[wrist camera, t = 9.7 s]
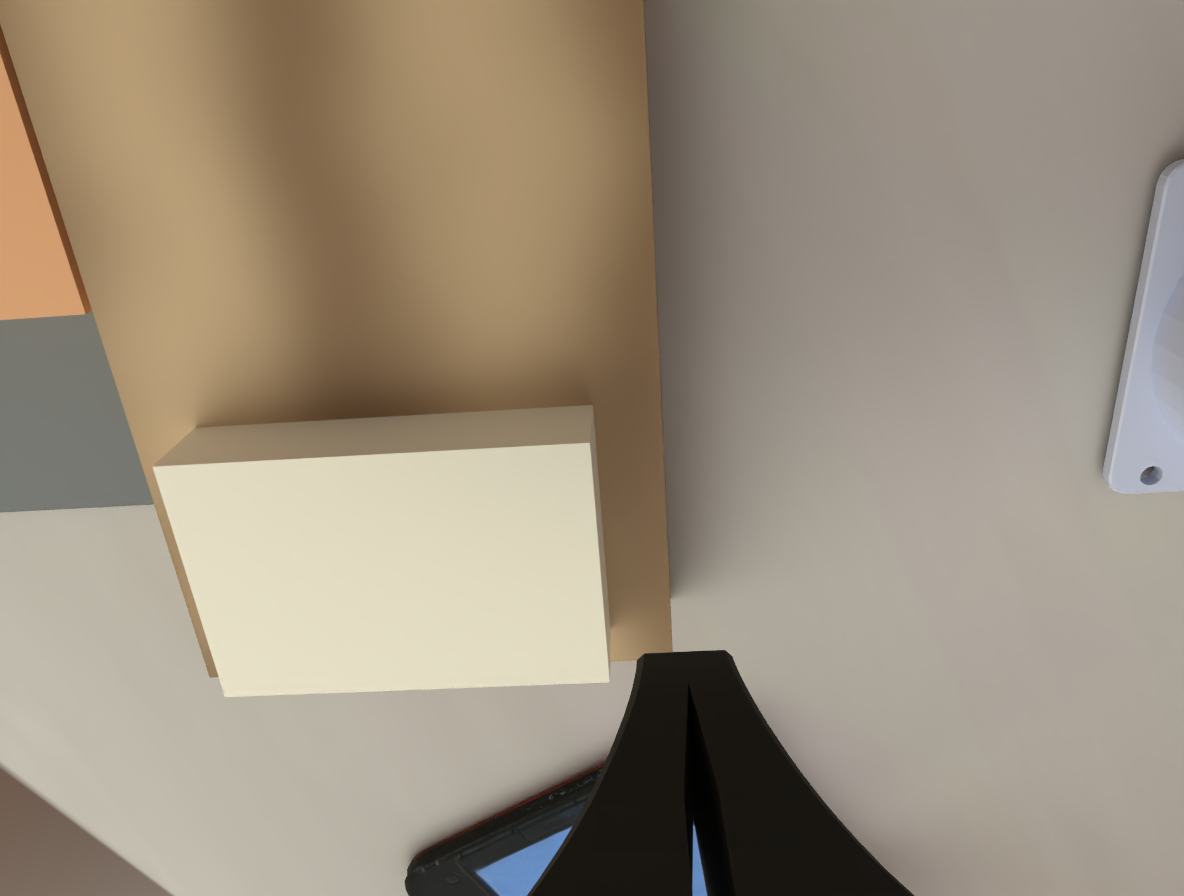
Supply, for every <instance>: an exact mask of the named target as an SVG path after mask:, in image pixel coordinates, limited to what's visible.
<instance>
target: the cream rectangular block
mask: <svg viewBox="0 0 1184 896" xmlns="http://www.w3.org/2000/svg"><path fill="white" fill-rule="evenodd" d="M153 470H154V473H155V477H156V480H157V483H158V486H159V489H160V492H161V496H162V499H163V502H164V505H165V508H166V511H167V515H168V518H169V521H170V524H171V527H172V530H173V534H174V537H175V540H176V543H177V546H178V549H179V553H180V556H181V559H182V562H183V565H184V568H185V572H186V575H187V578H188V581H189V584H190V588H191V591H192V594H193V597H194V600H195V603H196V607H197V610H198V613H199V616H200V619H201V622H202V626H203V629H204V632H205V635H206V638H207V641H208V645H209V648H210V651H211V654H212V657H213V660H214V664H215V667H216V670H217V673H218V676H219V680H220V683H221V686H222V689H223V692H224V695H225V697H240V696H266V695H292V694H318V693H343V692H369V691H395V690H421V689H447V688H473V687H498V686H524V685H550V684H576V683H602V682H610V643H611V625H610V613H609V600H608V588H607V575H606V563H605V550H604V538H603V525H602V513H601V500H600V488H599V475H598V462H597V450H596V437H595V425H594V412H593V405H581V406H564V407H546V408H529V409H511V410H494V411H477V412H459V413H442V414H424V415H407V416H390V417H372V418H355V419H337V420H320V421H302V422H285V423H268V424H250V425H233V426H215V427H198V428H194V429H193V430H192V431H191V432H190V433H189V434H188V435H187V436H185V437H184V438H183V439H182V440H181V441H180V442H179V443H178V444H177V445H176V446H175V447H173V448H172V449H171V450H170V451H169V452H168V453H167V454H166V455H165V456H164V457H163V458H161V459H160V460H159V461H158V462H157V463H156V464H155V465H154V466H153Z"/></svg>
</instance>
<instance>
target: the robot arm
mask: <svg viewBox="0 0 1184 896" xmlns="http://www.w3.org/2000/svg"><path fill="white" fill-rule="evenodd" d="M1152 466H1154V469H1153V471H1152V473H1151V474H1149V475H1148V476H1147V477H1143V478H1140V476H1141V474H1142V472H1143V471H1144V470H1145V469H1146V468H1148V467H1152ZM1103 479H1104V481H1105V482H1106V484H1107V485H1108V486H1109V487H1110V488H1111V489H1113V490H1114V491H1116V492H1118V493H1123V494H1132V493H1152V492H1172V491H1184V159H1181V160H1177V161H1175V162H1173V163H1172V164H1170V165H1169V166H1167V167H1166V168H1165V170H1164V171H1163V172H1162V173H1161V174H1160V177H1159V179H1158V182H1157V185H1156V190H1155V196H1154V201H1153V206H1152V212H1151V217H1150V222H1149V228H1148V233H1147V238H1146V244H1145V249H1144V254H1143V260H1142V265H1141V270H1140V276H1139V281H1138V286H1137V292H1136V297H1135V302H1134V308H1133V313H1132V318H1131V324H1130V329H1129V334H1128V339H1127V345H1126V350H1125V355H1124V361H1123V366H1122V371H1121V377H1120V382H1119V387H1118V393H1117V398H1116V403H1115V409H1114V414H1113V419H1112V425H1111V430H1110V435H1109V441H1108V446H1107V451H1106V457H1105V462H1104V467H1103ZM693 820H694V826H695V831H696V837H697V842H698V848H699V853H700V859H701V865H702V870H703V875H704V881H705V886H706V892H707V896H914V895H913V894H912V893H911V892H910V891H909V890H908V889H907V888H905V887H904V886H903V885H902V884H901V883H900V882H899V881H898V880H897V879H896V878H895V877H893V876H892V875H891V874H890V873H889V872H888V871H887V870H886V869H885V868H884V867H883V866H882V865H881V864H880V863H879V862H878V861H877V860H876V859H875V858H874V857H873V856H872V855H871V854H870V853H869V852H868V851H867V850H866V848H865V847H864V846H863V845H862V844H861V843H860V842H859V841H858V840H857V839H856V838H855V837H854V836H853V835H852V833H851V832H850V831H849V830H848V829H847V828H846V827H845V826H844V825H843V823H842V822H841V821H840V820H839V819H838V818H837V817H836V815H835V814H834V813H833V812H832V811H831V810H830V808H829V807H828V806H827V805H826V804H825V802H824V801H823V800H822V799H821V797H820V796H819V795H818V794H817V792H816V791H815V790H814V789H813V787H812V786H811V785H810V783H809V782H808V781H807V779H806V778H805V777H804V775H803V774H802V773H801V772H800V770H799V769H798V768H797V766H796V765H795V763H794V762H793V761H792V759H791V758H790V756H789V755H788V754H787V752H786V751H785V749H784V748H783V746H782V745H781V743H780V742H779V740H778V739H777V737H776V736H775V734H774V733H773V731H772V730H771V728H770V727H769V725H768V724H767V722H766V720H765V719H764V717H763V715H762V714H761V712H760V711H759V709H758V707H757V705H756V704H755V702H754V700H753V698H752V697H751V695H750V693H749V691H748V689H747V688H746V686H745V684H744V682H743V680H742V678H741V676H740V674H739V672H738V669H737V667H736V665H735V662H734V660H733V657H732V656H731V655H730V654H729V653H728V652H726V651H725V650H716V651H691V652H667V653H644V654H643V655H642V656H641V657H640V658H639V659H638V660H637V667H636V674H635V679H634V684H633V688H632V691H631V695H630V698H629V702H628V705H627V708H626V711H625V714H624V717H623V720H622V722H621V725H620V727H619V730H618V733H617V735H616V738H615V740H614V743H613V746H612V748H611V751H610V753H609V755H608V758H607V760H606V762H605V764H604V766H603V768H602V770H601V772H600V774H599V777H598V779H597V781H596V783H595V785H594V787H593V789H592V791H591V793H590V795H589V797H588V799H587V801H586V803H585V805H584V807H583V808H582V810H581V812H580V814H579V816H578V818H577V819H576V821H575V823H574V825H573V826H572V828H571V830H570V831H569V833H568V835H567V836H566V838H565V840H564V841H563V843H562V845H561V846H560V848H559V849H558V851H557V852H556V854H555V855H554V857H553V858H552V860H551V861H550V863H549V864H548V866H547V867H546V869H545V870H544V872H543V873H542V875H541V876H540V878H539V879H538V881H537V882H536V884H535V885H534V886H533V888H532V889H531V891H530V892H529V893H528V895H527V896H693V893H692V883H693Z"/></svg>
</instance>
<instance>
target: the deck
mask: <svg viewBox="0 0 1184 896" xmlns="http://www.w3.org/2000/svg"><path fill="white" fill-rule="evenodd" d="M0 25H1V28H2V31H3V34H4V37H5V40H6V43H7V46H8V50H9V53H10V56H11V59H12V62H13V65H14V68H15V71H16V74H17V78H18V81H19V84H20V87H21V90H22V93H23V96H24V99H25V103H26V106H27V109H28V112H29V115H30V118H31V121H32V124H33V128H34V131H35V134H36V137H37V140H38V143H39V146H40V149H41V152H42V156H43V159H44V162H45V165H46V168H47V171H48V174H49V177H50V181H51V184H52V187H53V190H54V193H55V196H56V199H57V202H58V205H59V209H60V212H61V215H62V218H63V221H64V224H65V227H66V230H67V234H68V237H69V240H70V243H71V246H72V249H73V252H74V255H75V258H76V262H77V265H78V268H79V271H80V274H81V277H82V280H83V283H84V287H85V290H86V293H87V296H88V299H89V302H90V305H91V308H92V312H93V315H94V318H95V321H96V324H97V327H98V330H99V333H100V336H101V340H102V343H103V346H104V349H105V352H106V355H107V358H108V361H109V365H110V368H111V371H112V374H113V377H114V380H115V383H116V386H117V389H118V393H119V396H120V399H121V402H122V405H123V408H124V411H125V414H126V418H127V421H128V424H129V427H130V430H131V433H132V436H133V439H134V443H135V446H136V449H137V452H138V455H139V458H140V461H141V464H142V467H143V471H144V474H145V477H146V480H147V483H148V486H149V489H150V492H151V496H152V499H153V502H154V505H155V508H156V511H157V514H158V517H159V520H160V524H161V527H162V530H163V533H164V536H165V539H166V542H167V545H168V549H169V552H170V555H171V558H172V561H173V564H174V567H175V570H176V573H177V577H178V580H179V583H180V586H181V589H182V592H183V595H184V598H185V602H186V605H187V608H188V611H189V614H190V617H191V620H192V623H193V627H194V630H195V633H196V636H197V639H198V642H199V645H200V648H201V651H202V655H203V658H204V661H205V664H206V667H207V670H208V673H209V676H210V677H219V676H218V673H217V670H216V667H215V664H214V660H213V657H212V654H211V651H210V648H209V645H208V641H207V638H206V635H205V632H204V629H203V626H202V622H201V619H200V616H199V613H198V610H197V607H196V603H195V600H194V597H193V594H192V591H191V588H190V584H189V581H188V578H187V575H186V572H185V568H184V565H183V562H182V559H181V556H180V553H179V549H178V546H177V543H176V540H175V537H174V534H173V530H172V527H171V524H170V521H169V518H168V515H167V511H166V508H165V505H164V502H163V499H162V496H161V492H160V489H159V486H158V483H157V480H156V477H155V473H154V470H153V466H154V465H155V464H156V463H157V462H158V461H159V460H160V459H161V458H163V457H164V456H165V455H166V454H167V453H168V452H169V451H170V450H171V449H172V448H173V447H175V446H176V445H177V444H178V443H179V442H180V441H181V440H182V439H183V438H184V437H185V436H187V435H188V434H189V433H190V432H191V431H192V430H193V429H194V428H198V427H215V426H233V425H250V424H268V423H285V422H302V421H320V420H337V419H355V418H372V417H390V416H407V415H424V414H442V413H459V412H477V411H494V410H511V409H529V408H546V407H564V406H581V405H593V412H594V425H595V437H596V450H597V462H598V475H599V488H600V500H601V513H602V525H603V538H604V550H605V563H606V575H607V588H608V600H609V613H610V625H611V643H610V661H632V660H638V659H639V658H640V657H641V656H642V655H643V654H644V653H667V652H673V651H672V629H671V606H670V584H669V561H668V539H667V517H666V494H665V472H664V449H663V427H662V405H661V382H660V360H659V337H658V315H657V293H656V270H655V248H654V225H653V203H652V180H651V158H650V136H649V113H648V91H647V68H646V46H645V24H644V1H643V0H0Z"/></svg>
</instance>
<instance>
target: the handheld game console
mask: <svg viewBox="0 0 1184 896" xmlns="http://www.w3.org/2000/svg"><path fill="white" fill-rule="evenodd" d="M603 766H604V764H603V765H601V766H599V767H597V768H595V769H593V770H591V771H589V772H586V773H584V774H582V775H580V776H578V777H576V778H574V779H572V780H570V781H567V782H565V783H563V784H561V785H559V786H557V787H555V788H553V789H551V790H548V791H546V792H544V793H542V794H540V795H538V796H536V797H534V798H532V799H530V800H528V801H525V802H523V803H521V804H519V805H517V806H515V807H513V808H511V809H509V810H507V811H505V812H503V813H501V814H499V815H497V816H495V817H493V818H491V819H488V820H486V821H484V822H482V823H480V824H478V825H476V826H474V827H472V828H470V829H468V830H466V831H463V832H461V833H459V834H457V835H455V836H453V837H451V838H449V839H447V840H445V841H443V842H441V843H439V844H437V845H435V846H433V847H431V848H429V849H427V850H425V851H423V852H421V853H420V854H418V855H417V856H416V857H415V858H414V859H413V860H412V862H411V863H410V865H409V867H408V869H407V877H406V879H405V887H406V891H407V893H408V895H409V896H527V895H528V893H529V892H530V891H531V889H532V888H533V886H534V885H535V884H536V882H537V881H538V879H539V878H540V876H541V875H542V873H543V872H544V870H545V869H546V867H547V866H548V864H549V863H550V861H551V860H552V858H553V857H554V855H555V854H556V852H557V851H558V849H559V848H560V846H561V845H562V843H563V841H564V840H565V838H566V836H567V835H568V833H569V831H570V830H571V828H572V826H573V825H574V823H575V821H576V819H577V818H578V816H579V814H580V812H581V810H582V808H583V807H584V805H585V803H586V801H587V799H588V797H589V795H590V793H591V791H592V789H593V787H594V785H595V783H596V781H597V779H598V777H599V774H600V772H601V770H602V768H603ZM692 893H693V896H707V892H706V886H705V881H704V875H703V870H702V865H701V859H700V853H699V848H698V842H697V837H696V831H695V826H694V820H693V883H692Z"/></svg>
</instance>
